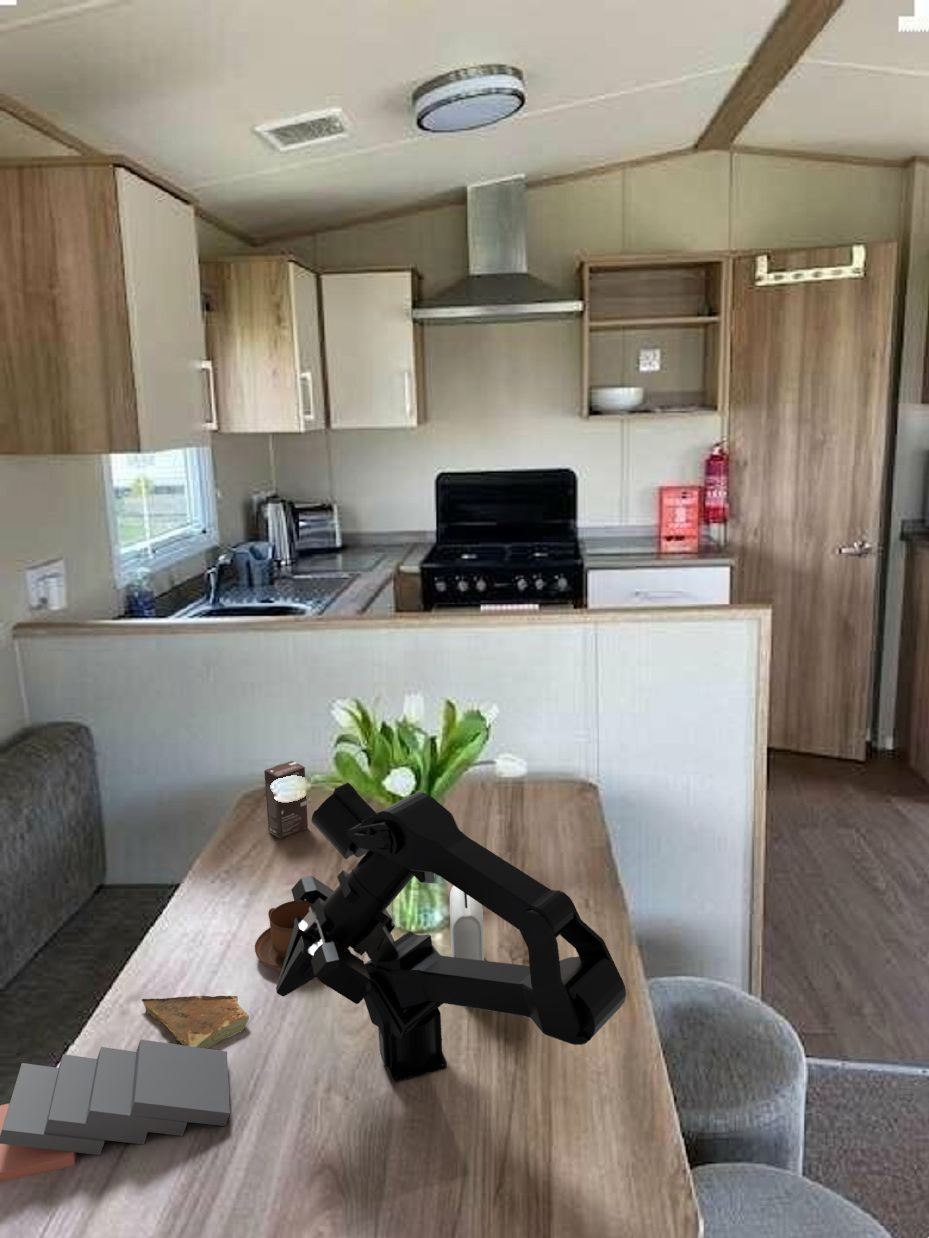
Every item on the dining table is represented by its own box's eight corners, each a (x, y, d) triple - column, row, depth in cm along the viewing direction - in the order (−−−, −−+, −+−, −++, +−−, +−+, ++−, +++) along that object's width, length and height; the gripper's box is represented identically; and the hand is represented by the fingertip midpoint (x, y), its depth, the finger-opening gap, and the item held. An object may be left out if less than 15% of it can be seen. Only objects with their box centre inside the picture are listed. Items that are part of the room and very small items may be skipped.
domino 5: (227, 1051, 109) (140, 1039, 106) (229, 1113, 100) (134, 1101, 97) (222, 1063, 109) (136, 1051, 106) (225, 1126, 100) (130, 1115, 97)
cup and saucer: (238, 970, 127) (234, 930, 126) (284, 923, 138) (280, 885, 137) (316, 986, 123) (313, 945, 122) (357, 936, 134) (354, 898, 133)
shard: (142, 1011, 120) (140, 996, 119) (208, 979, 126) (207, 965, 125) (190, 1062, 111) (188, 1046, 110) (259, 1025, 117) (257, 1010, 116)
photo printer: (451, 952, 129) (448, 871, 126) (482, 950, 129) (479, 869, 126) (453, 999, 119) (449, 913, 116) (486, 997, 120) (483, 911, 116)
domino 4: (189, 1059, 108) (101, 1046, 105) (187, 1122, 99) (89, 1110, 96) (185, 1071, 108) (96, 1058, 105) (182, 1135, 99) (85, 1123, 96)
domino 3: (153, 1066, 107) (63, 1054, 104) (148, 1131, 98) (48, 1119, 95) (149, 1078, 107) (58, 1066, 104) (143, 1144, 98) (43, 1132, 95)
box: (282, 840, 163) (276, 776, 160) (268, 832, 166) (262, 769, 163) (310, 828, 167) (305, 765, 164) (296, 820, 170) (291, 759, 167)
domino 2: (84, 1087, 105) (-13, 1108, 102) (73, 1155, 95) (-35, 1180, 93) (86, 1099, 105) (-11, 1120, 103) (75, 1168, 96) (-32, 1193, 93)
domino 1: (114, 1075, 106) (21, 1062, 103) (104, 1141, 96) (2, 1129, 93) (110, 1087, 106) (17, 1075, 103) (99, 1154, 97) (-3, 1143, 94)
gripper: (445, 968, 99) (348, 1081, 99) (402, 881, 116) (319, 977, 116) (369, 916, 95) (267, 1034, 94) (335, 834, 112) (249, 934, 112)
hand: (279, 992), depth 104 cm, fingers closed
